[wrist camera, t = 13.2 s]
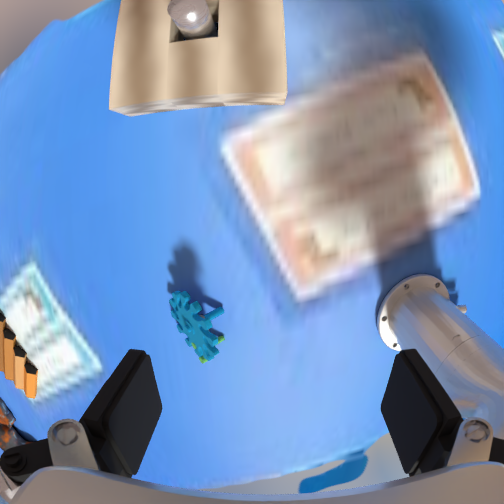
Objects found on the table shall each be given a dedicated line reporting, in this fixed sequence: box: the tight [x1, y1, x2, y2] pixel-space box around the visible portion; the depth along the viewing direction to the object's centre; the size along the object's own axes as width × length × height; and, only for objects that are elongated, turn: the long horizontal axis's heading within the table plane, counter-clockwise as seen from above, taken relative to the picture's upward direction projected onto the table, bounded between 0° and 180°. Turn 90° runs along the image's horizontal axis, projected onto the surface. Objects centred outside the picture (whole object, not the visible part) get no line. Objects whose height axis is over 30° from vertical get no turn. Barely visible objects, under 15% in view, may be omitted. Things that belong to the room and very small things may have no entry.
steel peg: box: [167, 0, 218, 40], centre depth 26 cm, size 4×4×10 cm
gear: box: [169, 291, 225, 363], centre depth 39 cm, size 11×6×10 cm
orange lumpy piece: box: [0, 399, 32, 451], centre depth 54 cm, size 25×13×17 cm
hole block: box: [109, 0, 287, 117], centre depth 28 cm, size 20×20×6 cm
